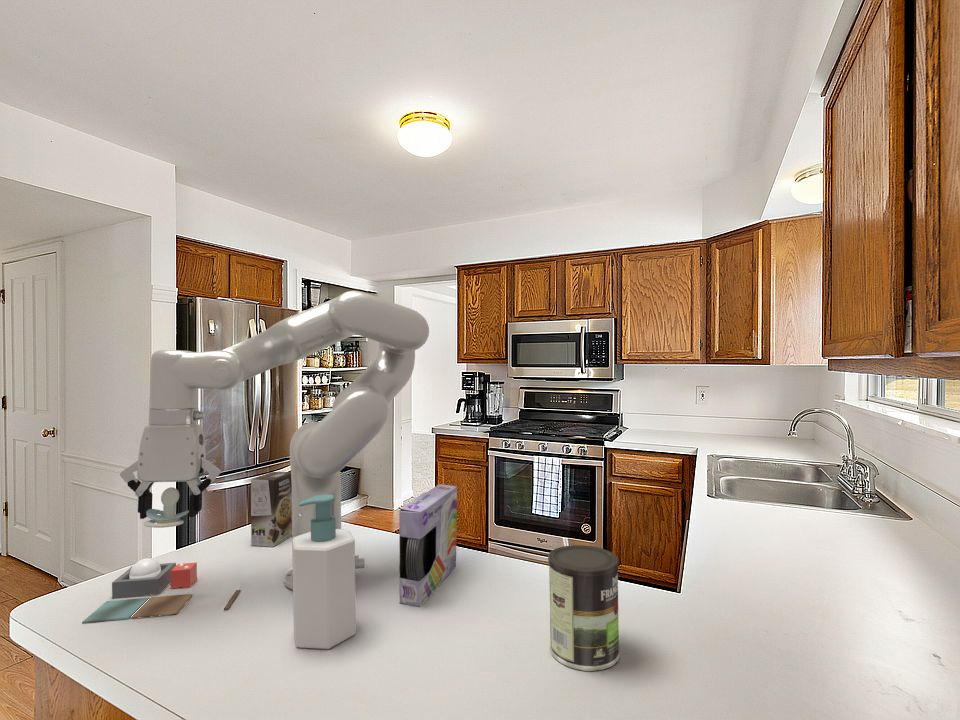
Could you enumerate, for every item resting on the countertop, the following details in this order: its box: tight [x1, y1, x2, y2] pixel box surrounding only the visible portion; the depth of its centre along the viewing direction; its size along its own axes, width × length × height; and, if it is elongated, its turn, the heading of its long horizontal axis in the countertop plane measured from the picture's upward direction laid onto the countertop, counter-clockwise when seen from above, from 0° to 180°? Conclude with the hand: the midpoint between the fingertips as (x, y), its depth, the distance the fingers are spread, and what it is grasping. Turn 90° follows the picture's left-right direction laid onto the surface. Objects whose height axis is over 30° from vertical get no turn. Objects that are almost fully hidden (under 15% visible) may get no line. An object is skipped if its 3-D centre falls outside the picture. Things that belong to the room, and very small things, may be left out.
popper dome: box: [129, 557, 161, 579], centre depth 100 cm, size 5×5×5 cm
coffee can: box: [547, 544, 621, 672], centre depth 76 cm, size 10×10×14 cm
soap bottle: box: [291, 494, 357, 650], centre depth 82 cm, size 10×9×22 cm
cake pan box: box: [398, 483, 458, 608], centre depth 99 cm, size 19×5×18 cm, turn 161°
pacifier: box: [143, 487, 189, 529], centre depth 91 cm, size 7×6×6 cm
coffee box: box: [250, 471, 292, 548], centre depth 126 cm, size 9×6×16 cm
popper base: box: [111, 561, 198, 599], centre depth 101 cm, size 13×8×4 cm, turn 100°
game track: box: [81, 589, 241, 625], centre depth 92 cm, size 23×8×1 cm, turn 100°
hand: (170, 515), depth 92 cm, fingers closed on pacifier, 7 cm apart
